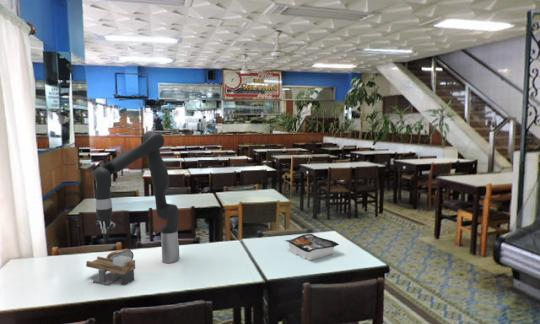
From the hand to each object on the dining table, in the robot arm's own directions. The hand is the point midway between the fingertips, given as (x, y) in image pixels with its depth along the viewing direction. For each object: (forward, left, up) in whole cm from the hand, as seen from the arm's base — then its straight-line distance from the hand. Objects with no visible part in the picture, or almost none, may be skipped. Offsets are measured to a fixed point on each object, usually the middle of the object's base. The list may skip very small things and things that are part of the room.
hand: (106, 240), depth 195 cm
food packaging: (-73, +86, -21) cm, 115 cm away
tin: (-16, -8, -21) cm, 27 cm away
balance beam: (0, +2, -14) cm, 14 cm away
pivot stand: (0, +5, -20) cm, 21 cm away
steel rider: (0, +10, -13) cm, 16 cm away
